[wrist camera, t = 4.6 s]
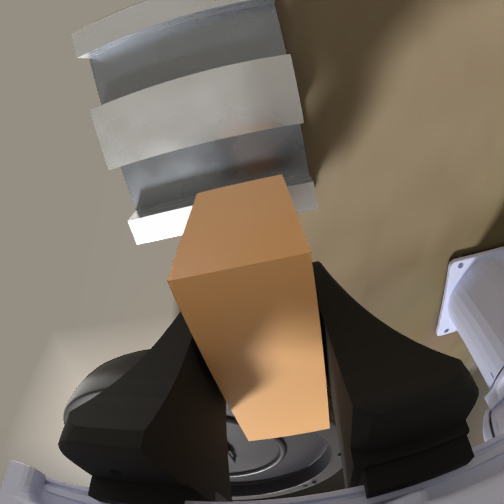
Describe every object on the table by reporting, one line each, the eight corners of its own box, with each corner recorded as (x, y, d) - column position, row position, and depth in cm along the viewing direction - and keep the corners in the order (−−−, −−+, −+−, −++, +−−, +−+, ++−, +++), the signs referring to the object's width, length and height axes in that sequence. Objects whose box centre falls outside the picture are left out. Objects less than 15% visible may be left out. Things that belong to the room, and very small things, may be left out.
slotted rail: (265, -21, 12) (268, -35, 10) (310, 196, 19) (318, 214, 16) (91, 32, 13) (69, 28, 11) (150, 229, 20) (138, 249, 18)
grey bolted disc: (151, 466, 41) (343, 453, 38) (146, 498, 36) (349, 489, 33) (30, 343, 26) (338, 301, 23) (6, 385, 21) (357, 363, 18)
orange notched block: (281, 174, 11) (310, 252, 6) (309, 331, 15) (329, 428, 10) (197, 193, 11) (167, 281, 7) (246, 343, 15) (248, 441, 10)
